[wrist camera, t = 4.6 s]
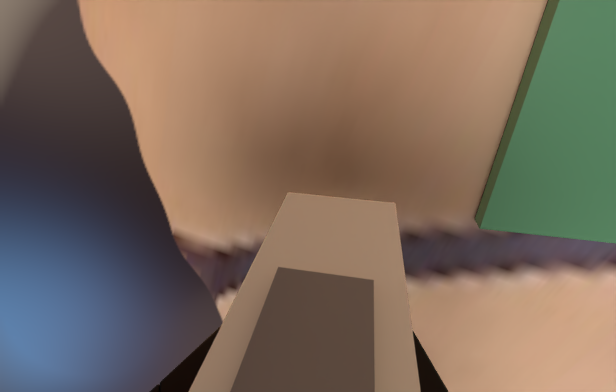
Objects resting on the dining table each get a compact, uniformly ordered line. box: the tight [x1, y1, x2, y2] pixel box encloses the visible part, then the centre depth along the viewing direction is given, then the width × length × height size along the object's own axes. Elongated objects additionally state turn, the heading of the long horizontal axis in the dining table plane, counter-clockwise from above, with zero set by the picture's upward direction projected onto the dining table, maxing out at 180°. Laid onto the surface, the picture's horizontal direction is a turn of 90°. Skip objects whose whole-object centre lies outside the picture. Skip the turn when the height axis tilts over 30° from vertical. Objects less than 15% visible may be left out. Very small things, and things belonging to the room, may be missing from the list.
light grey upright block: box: [189, 192, 421, 392], centre depth 8 cm, size 5×4×8 cm, turn 179°
